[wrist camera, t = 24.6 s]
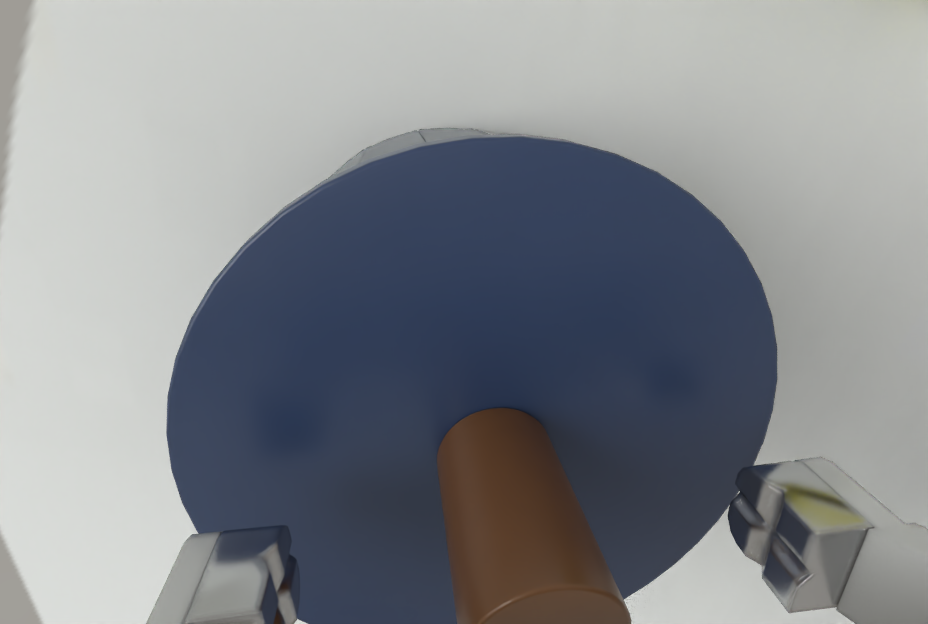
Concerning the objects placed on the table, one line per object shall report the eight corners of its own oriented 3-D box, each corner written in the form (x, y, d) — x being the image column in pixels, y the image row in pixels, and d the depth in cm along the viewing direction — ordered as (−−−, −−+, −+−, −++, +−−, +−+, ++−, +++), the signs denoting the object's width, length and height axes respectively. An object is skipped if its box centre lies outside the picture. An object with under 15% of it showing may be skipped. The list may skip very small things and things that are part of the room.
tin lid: (847, 237, 11) (1196, 349, 6) (610, 623, 15) (708, 861, 11) (236, 22, 8) (3, -79, 3) (160, 583, 12) (18, 893, 7)
